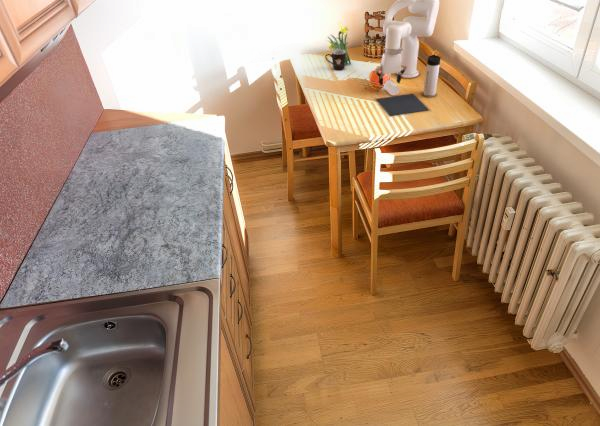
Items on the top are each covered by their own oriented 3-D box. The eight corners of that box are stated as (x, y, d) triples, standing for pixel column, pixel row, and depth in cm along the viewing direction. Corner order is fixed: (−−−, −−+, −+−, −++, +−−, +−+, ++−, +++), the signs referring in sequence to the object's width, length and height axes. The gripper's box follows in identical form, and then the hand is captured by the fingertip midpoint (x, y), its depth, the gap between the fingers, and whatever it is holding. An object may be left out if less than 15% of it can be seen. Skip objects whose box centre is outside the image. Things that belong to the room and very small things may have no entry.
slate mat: (376, 99, 235) (376, 98, 235) (412, 94, 238) (412, 93, 238) (390, 115, 220) (390, 115, 220) (428, 110, 222) (428, 109, 222)
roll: (390, 86, 248) (391, 76, 244) (399, 94, 239) (400, 84, 235) (380, 87, 247) (380, 77, 243) (388, 96, 238) (389, 86, 234)
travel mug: (434, 91, 239) (439, 54, 226) (436, 97, 234) (441, 59, 221) (422, 92, 239) (427, 54, 227) (424, 97, 234) (428, 59, 222)
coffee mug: (348, 67, 274) (348, 50, 267) (341, 71, 268) (341, 55, 262) (331, 64, 279) (331, 47, 273) (324, 68, 273) (324, 52, 267)
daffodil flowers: (327, 68, 276) (320, 36, 296) (346, 77, 283) (338, 45, 303) (343, 46, 265) (334, 14, 285) (362, 56, 272) (352, 24, 292)
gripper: (405, 47, 233) (402, 79, 244) (373, 50, 231) (371, 82, 241) (411, 51, 227) (407, 84, 238) (378, 55, 225) (376, 87, 235)
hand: (389, 83), depth 239 cm, fingers open, 9 cm apart
